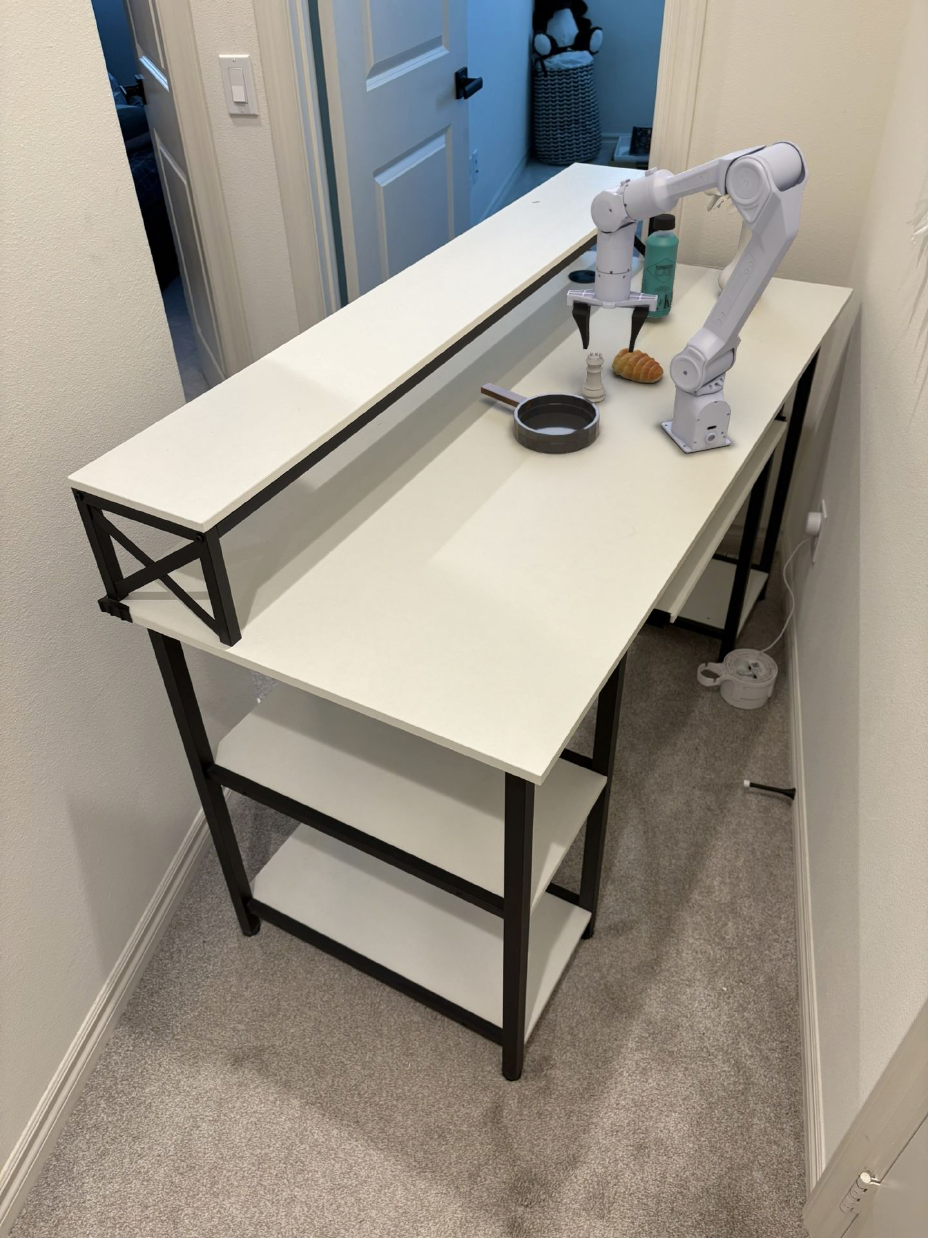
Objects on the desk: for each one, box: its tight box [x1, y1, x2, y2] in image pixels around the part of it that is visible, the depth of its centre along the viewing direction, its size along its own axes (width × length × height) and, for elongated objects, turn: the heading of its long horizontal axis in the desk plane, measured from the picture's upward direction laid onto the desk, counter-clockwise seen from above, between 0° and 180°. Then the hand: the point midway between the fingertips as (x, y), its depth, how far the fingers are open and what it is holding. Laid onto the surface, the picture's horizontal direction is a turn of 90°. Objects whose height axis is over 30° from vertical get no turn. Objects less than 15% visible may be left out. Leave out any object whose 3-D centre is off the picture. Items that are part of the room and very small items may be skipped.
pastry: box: [611, 347, 665, 384], centre depth 161 cm, size 9×7×4 cm
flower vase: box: [702, 187, 752, 291], centre depth 179 cm, size 13×18×25 cm
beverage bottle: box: [640, 213, 680, 318], centre depth 174 cm, size 6×7×20 cm
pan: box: [513, 392, 601, 454], centre depth 148 cm, size 14×14×4 cm
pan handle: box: [480, 382, 530, 409], centre depth 153 cm, size 10×2×1 cm, turn 45°
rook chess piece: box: [579, 351, 606, 404], centre depth 154 cm, size 4×4×8 cm
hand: (608, 348), depth 150 cm, fingers open, 7 cm apart
